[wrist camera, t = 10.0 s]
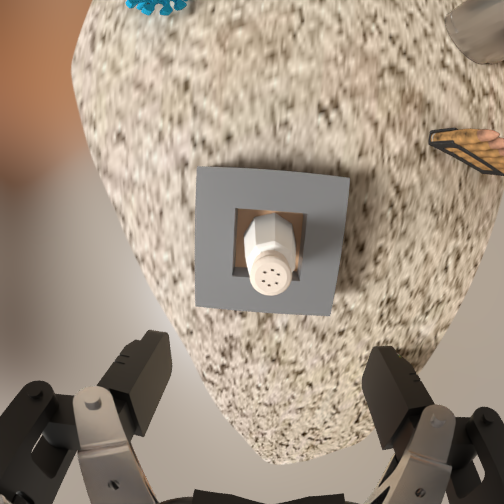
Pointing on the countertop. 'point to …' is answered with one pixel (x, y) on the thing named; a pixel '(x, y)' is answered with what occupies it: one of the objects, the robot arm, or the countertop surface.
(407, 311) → the countertop surface
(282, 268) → the pepper shaker
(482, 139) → the ammunition clip
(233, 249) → the frame
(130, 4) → the blue t-shaped piece
